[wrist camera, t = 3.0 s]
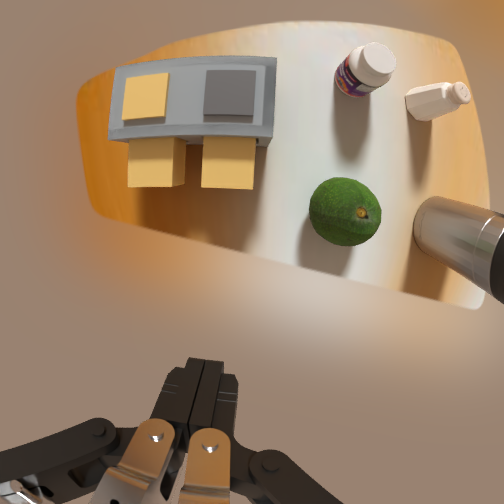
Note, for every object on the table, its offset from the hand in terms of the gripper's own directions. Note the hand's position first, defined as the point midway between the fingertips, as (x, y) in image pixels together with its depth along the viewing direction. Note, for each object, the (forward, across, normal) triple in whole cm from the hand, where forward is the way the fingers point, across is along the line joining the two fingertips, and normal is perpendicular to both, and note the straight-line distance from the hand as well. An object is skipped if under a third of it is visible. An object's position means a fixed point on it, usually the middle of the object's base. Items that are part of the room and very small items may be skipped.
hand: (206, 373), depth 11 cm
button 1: (+23, +10, -10) cm, 27 cm away
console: (+27, +6, -15) cm, 31 cm away
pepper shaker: (+28, -24, -21) cm, 42 cm away
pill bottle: (+28, -13, -22) cm, 38 cm away
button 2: (+23, +2, -10) cm, 25 cm away
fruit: (+27, -11, -4) cm, 30 cm away
